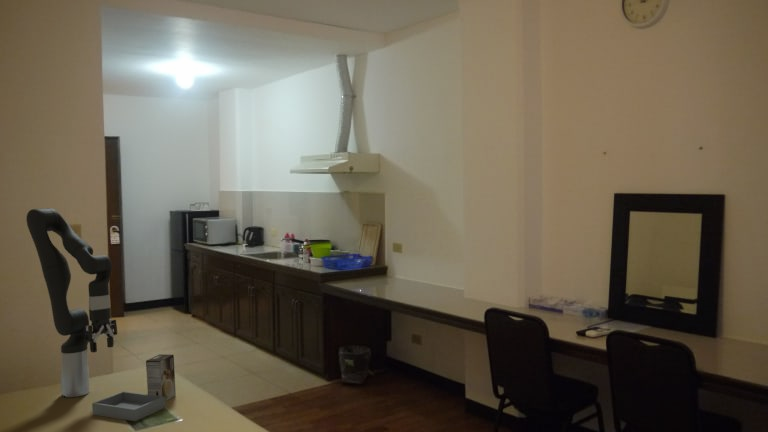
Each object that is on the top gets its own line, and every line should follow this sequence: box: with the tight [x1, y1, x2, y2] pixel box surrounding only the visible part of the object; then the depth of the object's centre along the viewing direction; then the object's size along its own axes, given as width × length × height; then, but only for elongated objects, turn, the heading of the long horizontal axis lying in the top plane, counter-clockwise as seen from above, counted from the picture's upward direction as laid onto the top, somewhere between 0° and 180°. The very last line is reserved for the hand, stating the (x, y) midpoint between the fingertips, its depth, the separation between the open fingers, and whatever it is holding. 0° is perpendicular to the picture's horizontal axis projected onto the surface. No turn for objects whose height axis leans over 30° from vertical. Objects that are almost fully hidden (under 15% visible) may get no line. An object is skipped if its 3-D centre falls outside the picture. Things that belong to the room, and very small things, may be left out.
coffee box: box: [145, 353, 177, 403], centre depth 230 cm, size 9×6×16 cm
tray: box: [91, 390, 166, 422], centre depth 218 cm, size 20×14×4 cm
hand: (102, 349), depth 233 cm, fingers open, 8 cm apart
